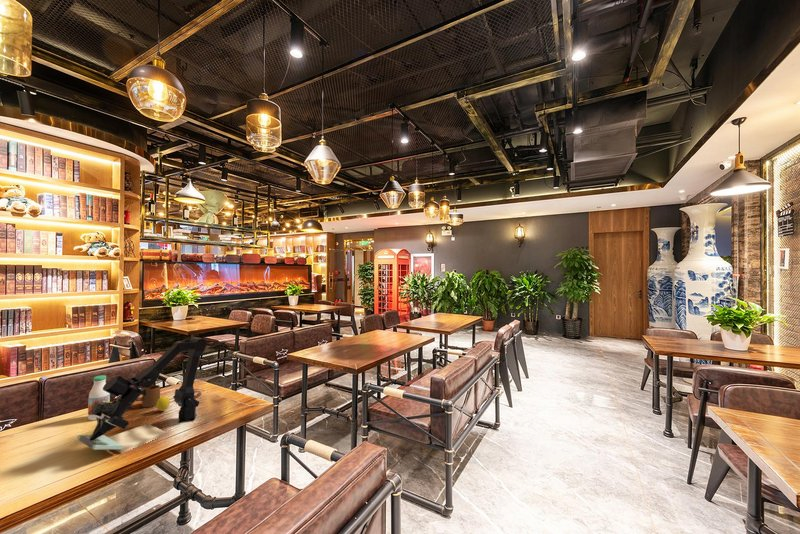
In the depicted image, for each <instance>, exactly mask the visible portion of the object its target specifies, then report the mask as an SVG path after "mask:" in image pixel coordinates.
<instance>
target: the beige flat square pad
mask: <svg viewBox="0 0 800 534" xmlns="http://www.w3.org/2000/svg"><path fill="white" fill-rule="evenodd" d="M164 435H166V436H167V432H166V431H165V430H163V429H161V428H158V427H157V426H154V425H152V424H150V423H144V424H142V425H140V426H136V427H134V428H131V429H128V430H125V431H122V432H120V433H116V434H113V435H111V436H107V437H108V438H110V439H112V440H113V441H115V442H117V443H118V444H120V445H122V448H121V449H113V450H114V451H115V452H117V453H119V454H123V453H126V452H129V451H131V450H133V448H134V449H136V448H138V446H139V447H141V446H144V445H145V443H146V444H147V443H148V442H149V443H151V442H153V441H152V440H154V441H156V440H158V439H157V438H159V437H161V438H163V437H162V436H164ZM164 437H165V436H164ZM155 439H156V440H155ZM159 439H160V438H159ZM150 441H151V442H150ZM149 443H148V444H149ZM143 444H144V445H143Z"/></svg>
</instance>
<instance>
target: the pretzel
mask: <svg viewBox="0 0 800 534" xmlns="http://www.w3.org/2000/svg"><path fill="white" fill-rule="evenodd" d="M194 392H195V393H194V399H196V397H197V398H199V397H200V396H201V395H202V391H201V390H200V389H199V388H194Z"/></svg>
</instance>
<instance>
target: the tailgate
mask: <svg viewBox="0 0 800 534" xmlns="http://www.w3.org/2000/svg"><path fill="white" fill-rule="evenodd" d="M91 435H92V434H78V435H77V437H76V439H77V440H78V441H79V442H81V443H82V444H84V445H85V446H87V447H88V448H90V449H92V450H114V449H121V448H122V445H120V444H118V443H117V442H115V441H113V440H112V439H110V438H108V437H109V436H107V435H105V434H103V435H101V436H100V437H98V438H96V439H95V440H93V441H92V440H90V437H91Z"/></svg>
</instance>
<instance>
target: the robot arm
mask: <svg viewBox="0 0 800 534" xmlns="http://www.w3.org/2000/svg"><path fill="white" fill-rule="evenodd" d="M207 345H208V342H207V340H206V339H205V338H202V337H197V336H196V337H191V338H190V339H184V340H180V341H178V340H177V341H174V342H173V343H172V346H170V347H169V348H168V349H167V350H166V351H165V352H164V353H163V354H162V355H161V356H160V357H159V358H158V359H157V360H156V361H155V362H153V364H152V365H150V366H148V367H146V368H144V369H143V370H141V371H140V372H139V373H137V374H136V375H135V376H133V377H130V378H127V379H125V378H124V377H123V376H121V375H120V374H116V376H115V377H112V378H111V379H110V380H108V381H107V382H106V384H105V385H104V387H103V390H104V391H106V392H108V393H110V395H113V396H114V397H118V398H117V399H113V400H112V401H110V402H109V403H108V402H95V403H94V405H93V407H92V409H91V411H93V412H92V414H94V415H97V416H99V418H96V419H97V420H96V422H97V424H96V426H95V427H94V430H93V432H92V434H90V435H91V437H90V440H92V441H93V440H95V439H96V438H98V437H100V436H101V435H105V434H106V433H108V432H110V431H113V430H114V429H116V428H117V427H118V428H121V429H123V430H126V428H127V427H129V424H130V423H129V421H128V420H126V419H124V416H123V415H125V414H126V412H128V410H129V411H130V410H131V409H132V405H133V404H134V403H135V402H137V401H136V400H137V398H140V396H142V395H144V396H147V393H146V389H143V388H147V387H150V386H152V385H155V382H157V380H158V379H159V377H160V374H161V372H162V371H163V370H164V369H165V368H166V367H168V365H169V364H170V363H171V362H173V360H174V359H175V358H176V357H177V356H178V355H179V354H180V353H181V352H182V351H187V353H188V357H187V361H186V367H185V370H184V374H183V379H182V382H181V386H180V387H179V388H178V389H177V388H175V390H174V395H173V397H172V398H173V399H174V400H173V402H175V404H176V405H178V407H180V408H179V411H178V418H177V419H178V423H184V422H192V421H195V420H196V418H197V416H198V414H197V407H199V405H200V401H199V400H197V399H196V398H194V393H195V392H194V389H195V388H194V383H195V379H196V375H197V370H198V367H199V362H200V359H201V356H202V355H203V354H204V352H205V350H206V348H207ZM140 387H141V388H140Z"/></svg>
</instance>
